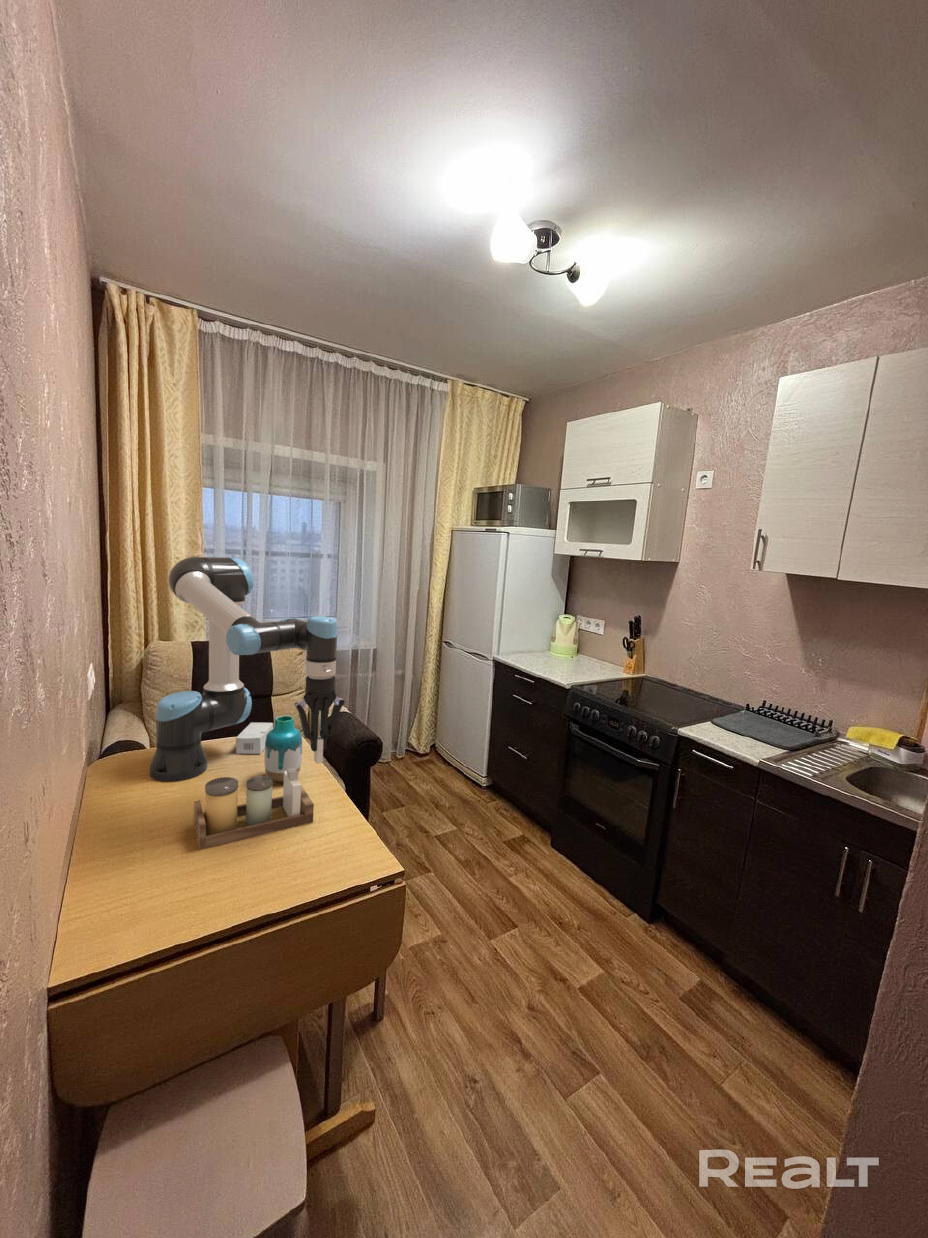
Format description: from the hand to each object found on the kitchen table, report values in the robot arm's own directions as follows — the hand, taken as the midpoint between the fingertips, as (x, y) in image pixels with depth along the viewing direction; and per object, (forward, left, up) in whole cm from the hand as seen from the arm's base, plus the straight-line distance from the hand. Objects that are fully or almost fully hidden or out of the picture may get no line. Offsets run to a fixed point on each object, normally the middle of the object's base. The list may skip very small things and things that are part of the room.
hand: (318, 761), depth 131 cm
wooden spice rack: (0, -16, -14) cm, 21 cm away
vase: (-21, -4, -14) cm, 26 cm away
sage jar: (0, -15, -14) cm, 20 cm away
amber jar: (0, -23, -14) cm, 27 cm away
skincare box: (-43, -9, -11) cm, 45 cm away
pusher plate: (0, -7, -14) cm, 15 cm away
